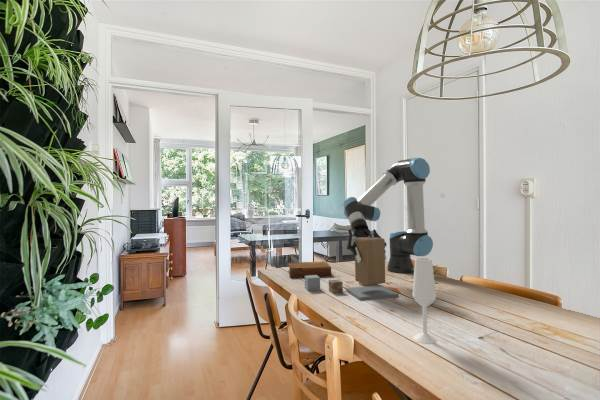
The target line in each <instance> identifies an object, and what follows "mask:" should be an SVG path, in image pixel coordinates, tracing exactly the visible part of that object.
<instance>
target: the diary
mask: <svg viewBox="0 0 600 400" xmlns="http://www.w3.org/2000/svg"><path fill="white" fill-rule="evenodd" d="M287 265H288V269H289V270H287V273H288V275H289V278H290V279H293V278H295V279H297V278H305V276H308V275H317V276H319V277H320V278H321V277H322V278H323V277H324V278H325V277H332V267H331V266H330V264H329V263H328V262H327V261H325V260H323V261H302V262H301V261H299V262H298V261H297V262H288V263H287Z"/></svg>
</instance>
